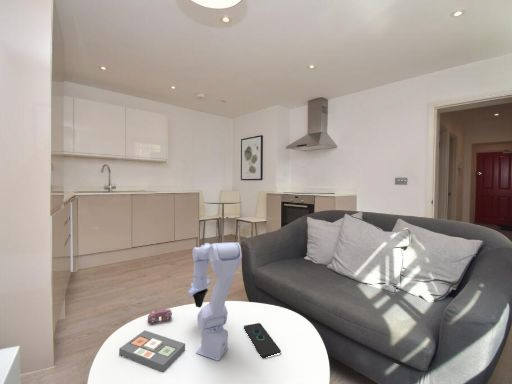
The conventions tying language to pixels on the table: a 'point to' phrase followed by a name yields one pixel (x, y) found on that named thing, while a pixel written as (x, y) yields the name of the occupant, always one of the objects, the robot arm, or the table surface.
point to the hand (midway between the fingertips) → (198, 306)
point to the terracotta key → (140, 341)
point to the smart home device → (261, 340)
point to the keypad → (151, 357)
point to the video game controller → (159, 315)
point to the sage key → (166, 351)
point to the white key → (153, 345)
